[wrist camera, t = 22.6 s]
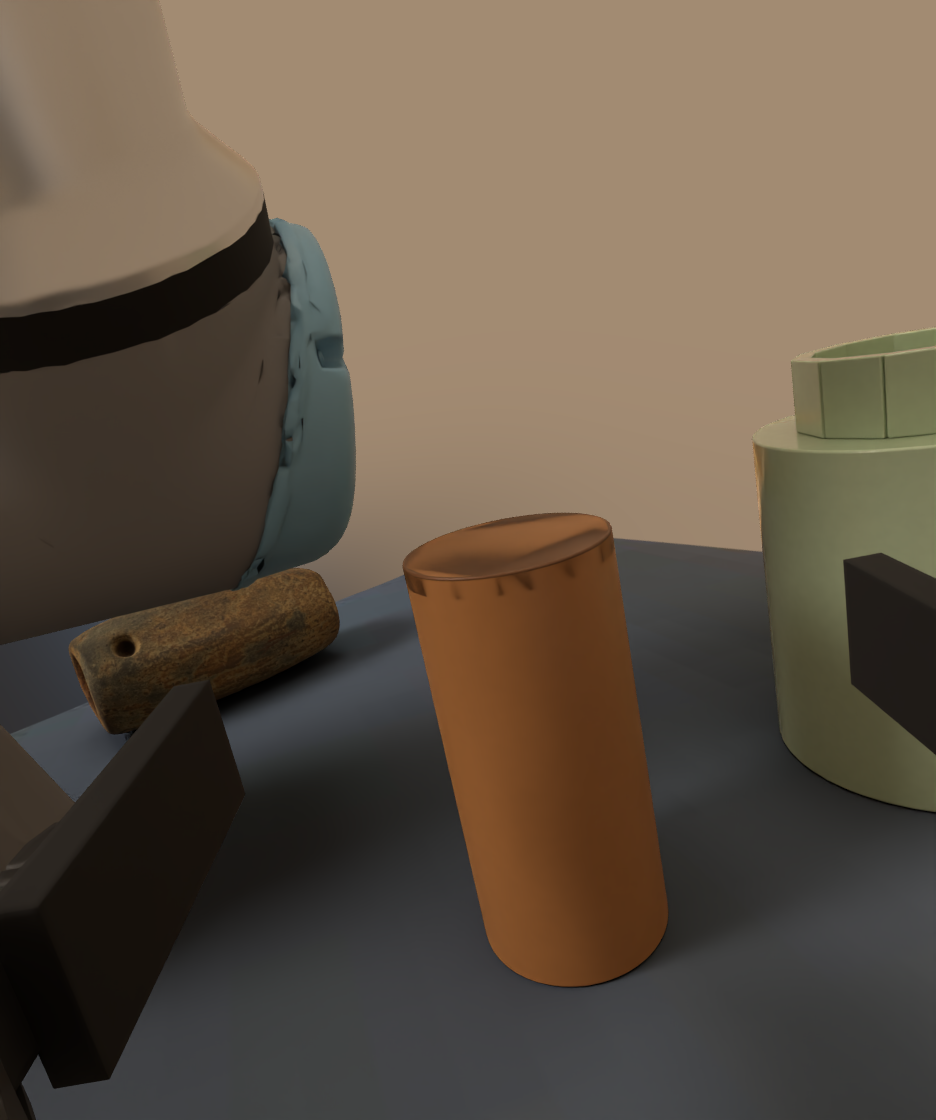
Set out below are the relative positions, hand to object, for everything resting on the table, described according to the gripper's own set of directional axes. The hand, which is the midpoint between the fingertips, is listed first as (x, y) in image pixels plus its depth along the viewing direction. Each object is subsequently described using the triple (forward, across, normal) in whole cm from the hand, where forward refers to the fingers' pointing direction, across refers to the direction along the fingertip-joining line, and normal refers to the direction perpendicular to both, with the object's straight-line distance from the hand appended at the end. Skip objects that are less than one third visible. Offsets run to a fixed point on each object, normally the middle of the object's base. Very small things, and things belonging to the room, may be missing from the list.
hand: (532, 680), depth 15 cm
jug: (+12, +16, -10) cm, 23 cm away
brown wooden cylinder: (+28, -18, -11) cm, 35 cm away
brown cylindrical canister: (+5, 0, -10) cm, 12 cm away
